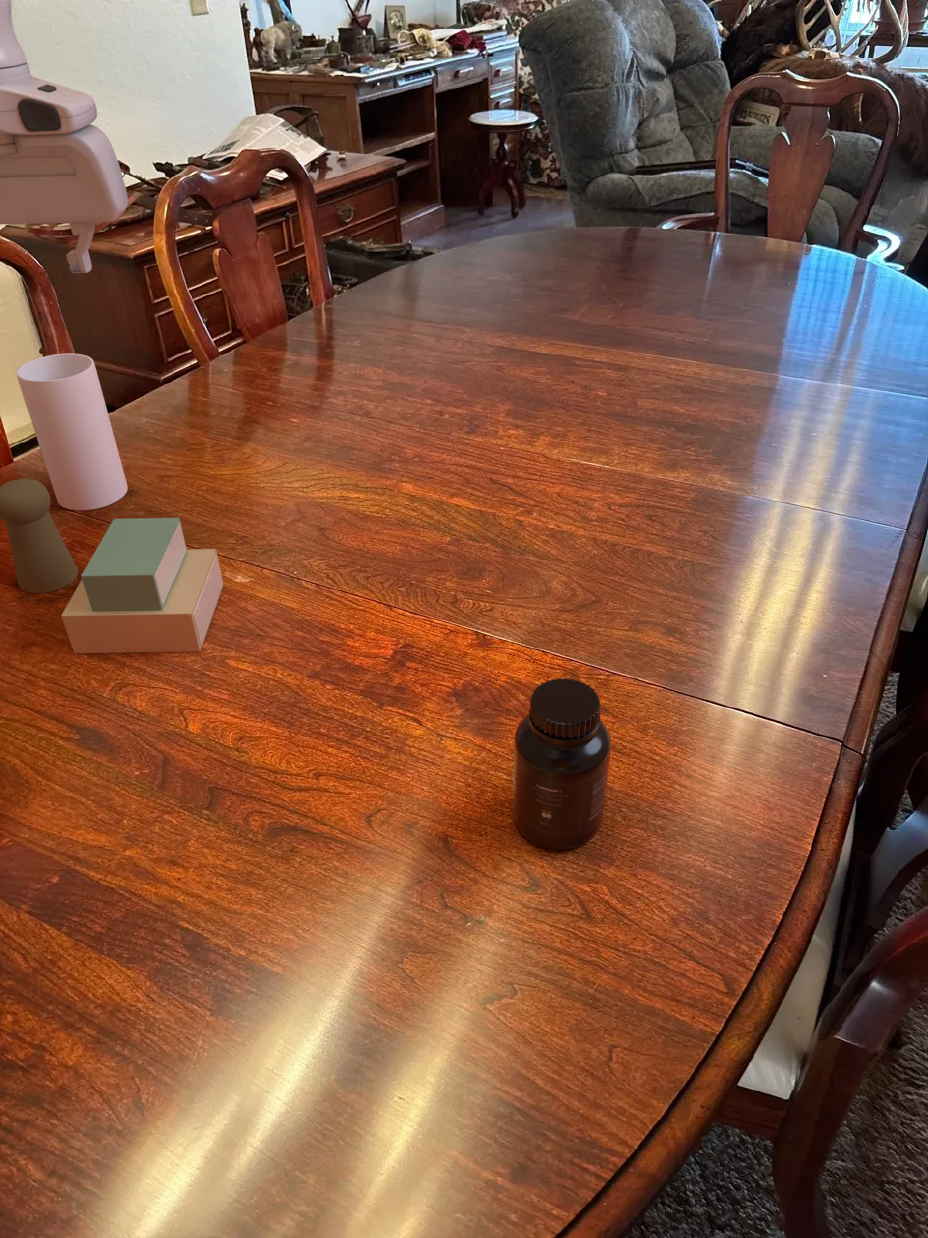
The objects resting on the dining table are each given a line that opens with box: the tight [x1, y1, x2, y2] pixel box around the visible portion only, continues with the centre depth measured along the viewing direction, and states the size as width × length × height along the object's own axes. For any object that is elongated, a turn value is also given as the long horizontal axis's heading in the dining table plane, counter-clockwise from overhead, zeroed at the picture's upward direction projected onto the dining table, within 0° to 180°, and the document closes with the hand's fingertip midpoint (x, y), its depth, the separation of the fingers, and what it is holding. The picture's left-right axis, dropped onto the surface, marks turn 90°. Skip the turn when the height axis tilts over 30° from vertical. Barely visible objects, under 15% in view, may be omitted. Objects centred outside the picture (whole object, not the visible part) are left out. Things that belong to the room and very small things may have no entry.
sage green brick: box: [80, 517, 188, 611], centre depth 88 cm, size 7×10×4 cm, turn 0°
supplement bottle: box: [512, 677, 612, 851], centre depth 67 cm, size 7×7×12 cm
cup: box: [15, 353, 129, 511], centre depth 107 cm, size 8×8×16 cm
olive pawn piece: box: [0, 478, 79, 594], centre depth 94 cm, size 6×6×11 cm
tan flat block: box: [60, 548, 224, 654], centre depth 90 cm, size 12×11×4 cm
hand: (31, 272), depth 86 cm, fingers open, 8 cm apart
